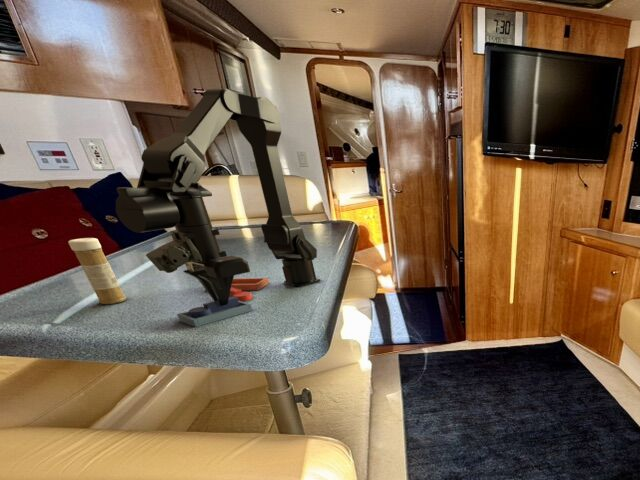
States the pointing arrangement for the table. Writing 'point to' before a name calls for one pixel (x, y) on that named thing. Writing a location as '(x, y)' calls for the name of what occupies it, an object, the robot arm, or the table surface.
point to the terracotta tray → (249, 283)
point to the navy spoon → (213, 307)
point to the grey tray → (214, 315)
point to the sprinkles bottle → (97, 270)
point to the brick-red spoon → (240, 294)
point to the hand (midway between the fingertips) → (221, 304)
